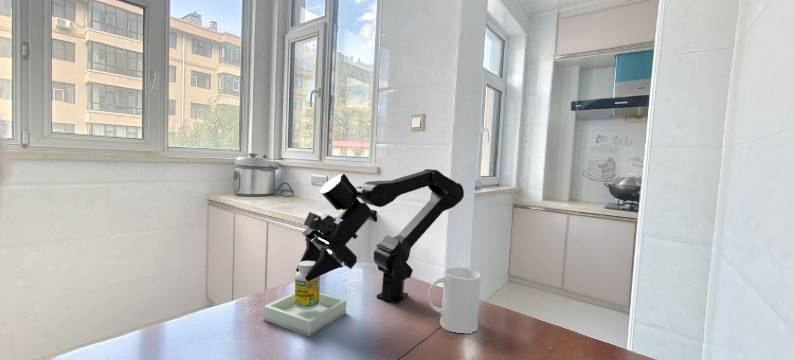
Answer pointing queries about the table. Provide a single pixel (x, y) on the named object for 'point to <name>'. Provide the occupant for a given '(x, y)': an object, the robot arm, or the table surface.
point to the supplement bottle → (306, 287)
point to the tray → (304, 313)
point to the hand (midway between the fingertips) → (301, 275)
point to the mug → (459, 299)
